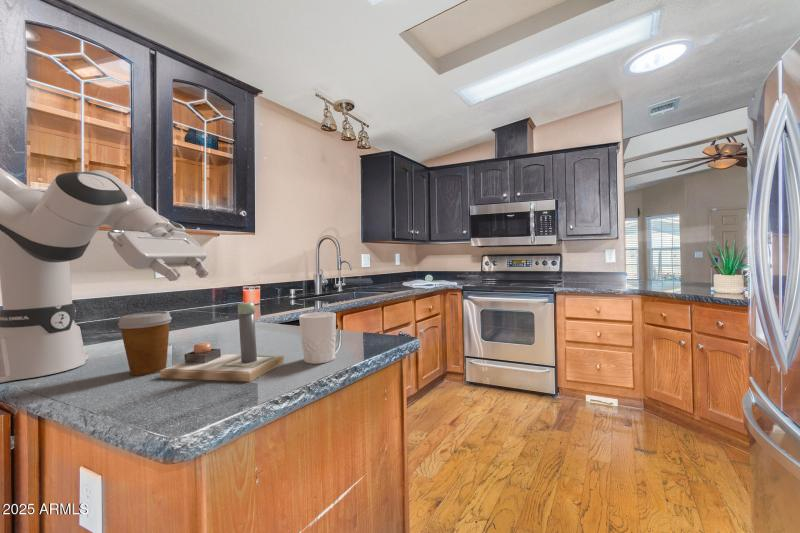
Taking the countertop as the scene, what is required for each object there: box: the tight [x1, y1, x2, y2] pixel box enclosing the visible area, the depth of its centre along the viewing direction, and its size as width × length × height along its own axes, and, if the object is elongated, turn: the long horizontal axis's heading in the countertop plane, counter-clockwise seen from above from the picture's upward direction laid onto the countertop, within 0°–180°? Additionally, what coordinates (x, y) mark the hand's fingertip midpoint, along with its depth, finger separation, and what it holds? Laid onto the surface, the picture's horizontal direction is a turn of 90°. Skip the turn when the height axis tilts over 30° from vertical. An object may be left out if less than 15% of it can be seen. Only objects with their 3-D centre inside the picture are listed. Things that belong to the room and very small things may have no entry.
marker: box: [237, 301, 258, 363], centre depth 77 cm, size 3×3×12 cm
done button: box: [193, 342, 212, 354], centre depth 79 cm, size 3×3×2 cm
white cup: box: [298, 311, 337, 365], centre depth 82 cm, size 8×8×10 cm
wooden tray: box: [159, 348, 285, 382], centre depth 77 cm, size 20×12×4 cm, turn 77°
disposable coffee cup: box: [117, 310, 173, 376], centre depth 79 cm, size 10×10×12 cm
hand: (191, 277), depth 78 cm, fingers open, 8 cm apart
